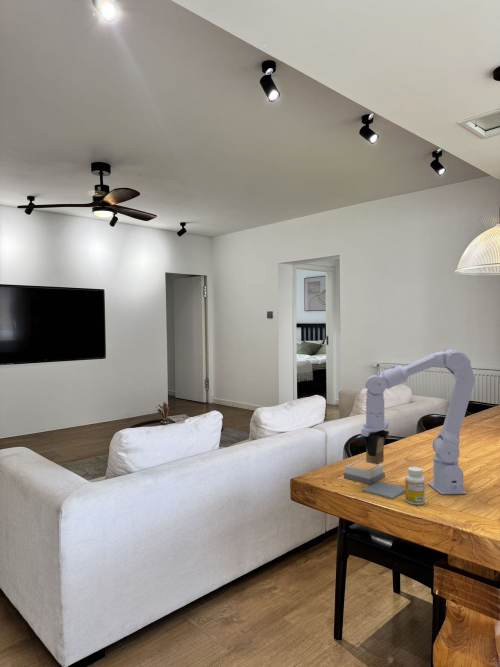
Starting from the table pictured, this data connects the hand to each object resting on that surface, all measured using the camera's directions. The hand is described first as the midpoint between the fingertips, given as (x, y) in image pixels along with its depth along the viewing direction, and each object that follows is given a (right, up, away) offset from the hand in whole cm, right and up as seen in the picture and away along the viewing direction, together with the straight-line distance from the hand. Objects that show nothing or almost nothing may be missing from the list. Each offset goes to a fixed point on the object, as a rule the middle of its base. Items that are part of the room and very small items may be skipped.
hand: (375, 454), depth 152 cm
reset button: (-2, -8, +7) cm, 10 cm away
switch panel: (-2, -10, +7) cm, 12 cm away
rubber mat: (+2, -10, -6) cm, 12 cm away
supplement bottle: (+8, -10, -15) cm, 19 cm away
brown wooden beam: (0, -3, 0) cm, 3 cm away
